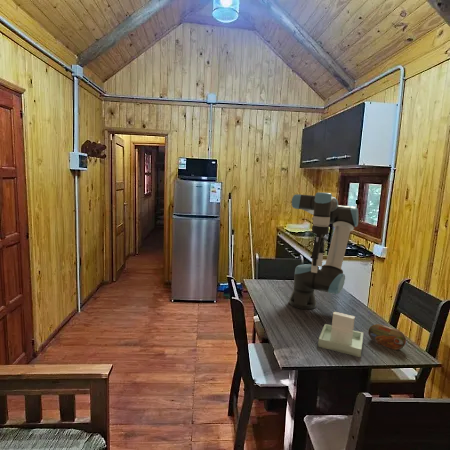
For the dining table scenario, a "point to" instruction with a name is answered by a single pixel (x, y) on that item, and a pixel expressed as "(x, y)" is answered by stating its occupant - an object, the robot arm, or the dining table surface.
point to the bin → (343, 348)
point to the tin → (387, 336)
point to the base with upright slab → (342, 328)
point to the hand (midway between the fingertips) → (316, 269)
